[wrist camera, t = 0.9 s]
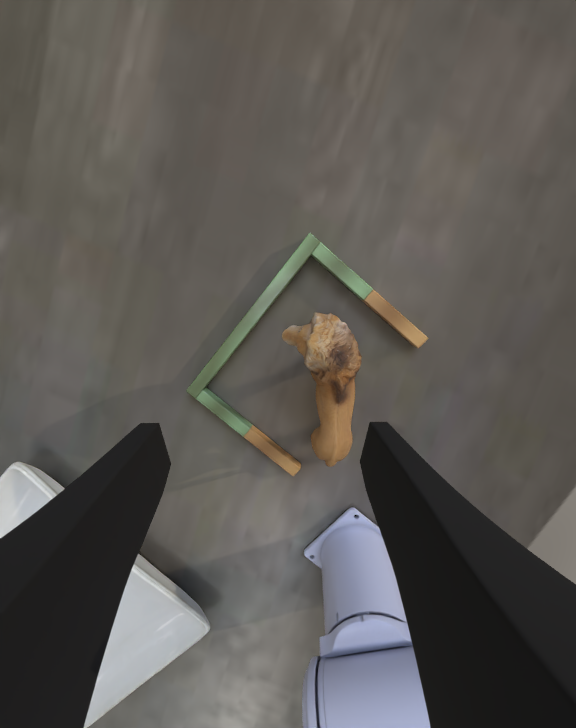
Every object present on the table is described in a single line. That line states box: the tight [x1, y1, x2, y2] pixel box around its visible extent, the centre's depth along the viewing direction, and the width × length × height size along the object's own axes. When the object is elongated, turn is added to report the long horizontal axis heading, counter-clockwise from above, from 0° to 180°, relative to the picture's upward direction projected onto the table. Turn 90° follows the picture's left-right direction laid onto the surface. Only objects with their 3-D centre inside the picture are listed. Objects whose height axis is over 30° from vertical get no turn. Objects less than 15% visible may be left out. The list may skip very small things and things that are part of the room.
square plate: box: [0, 462, 210, 728], centre depth 32 cm, size 27×27×4 cm
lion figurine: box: [282, 313, 362, 467], centre depth 22 cm, size 15×5×9 cm, turn 11°
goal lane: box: [186, 233, 428, 476], centre depth 25 cm, size 14×18×1 cm
